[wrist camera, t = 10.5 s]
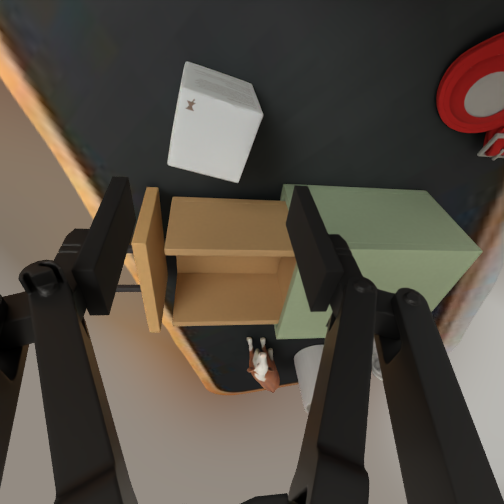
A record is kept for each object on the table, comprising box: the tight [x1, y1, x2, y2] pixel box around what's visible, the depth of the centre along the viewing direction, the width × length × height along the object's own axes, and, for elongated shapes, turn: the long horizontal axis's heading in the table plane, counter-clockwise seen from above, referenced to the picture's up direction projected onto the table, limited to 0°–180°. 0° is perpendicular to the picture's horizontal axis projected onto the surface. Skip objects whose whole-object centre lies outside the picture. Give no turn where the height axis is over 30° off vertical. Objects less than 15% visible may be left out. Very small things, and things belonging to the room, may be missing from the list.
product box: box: [168, 62, 263, 183], centre depth 26 cm, size 6×6×7 cm
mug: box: [294, 345, 324, 413], centre depth 61 cm, size 11×10×10 cm
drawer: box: [116, 187, 296, 332], centre depth 34 cm, size 22×14×9 cm, turn 84°
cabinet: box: [274, 184, 483, 339], centre depth 37 cm, size 18×15×11 cm
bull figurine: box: [246, 337, 280, 393], centre depth 55 cm, size 4×13×8 cm, turn 13°
